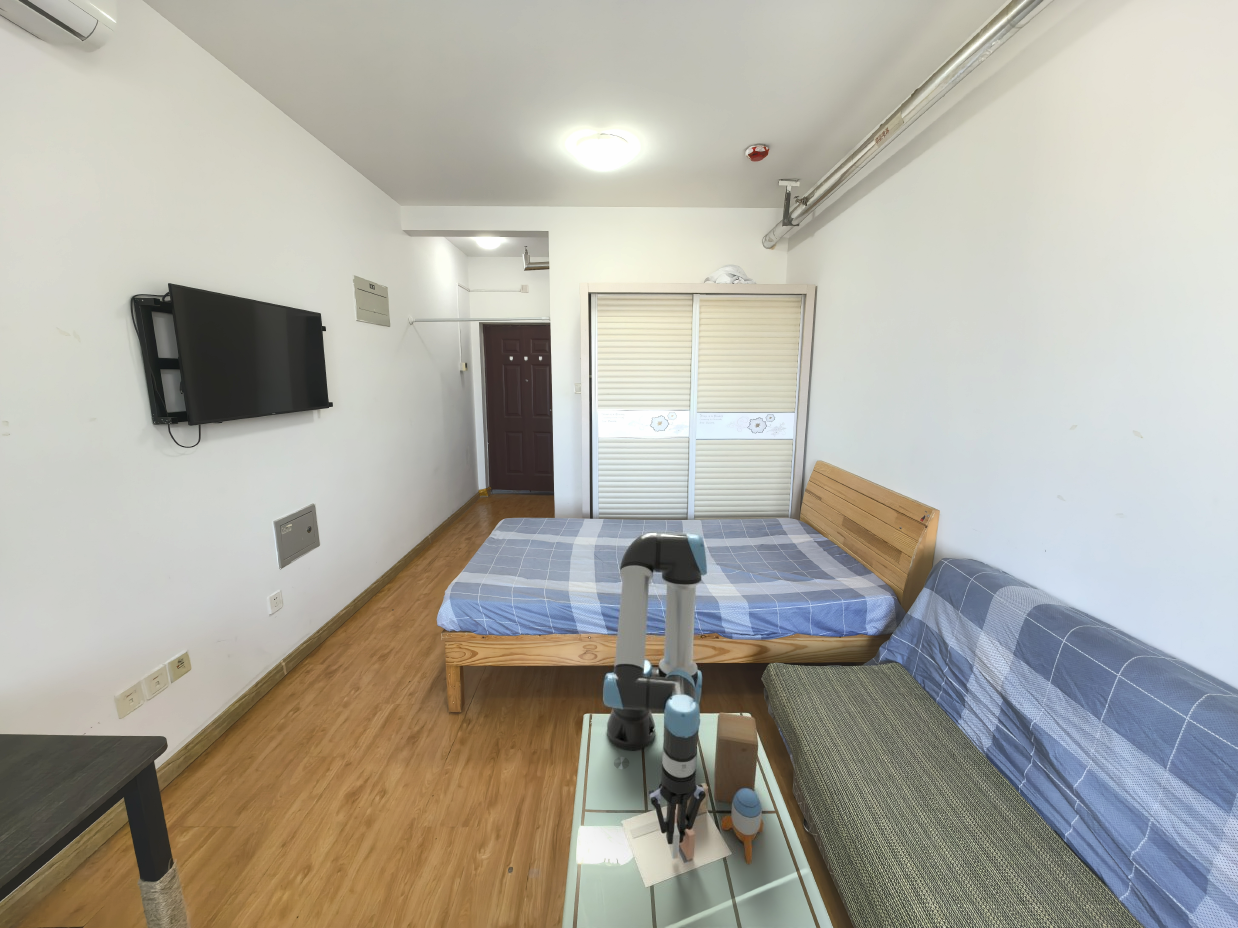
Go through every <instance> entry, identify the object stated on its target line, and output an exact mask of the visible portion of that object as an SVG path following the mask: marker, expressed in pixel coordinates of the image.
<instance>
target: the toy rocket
mask: <svg viewBox="0 0 1238 928" xmlns="http://www.w3.org/2000/svg"><path fill="white" fill-rule="evenodd" d="M762 813H763V812H762V803H761V800H760V798H759V796H758V794H757V793H756V792H755V790H754V791H753V790H751V789H748V788H742V789H740V790H739V791H738V792H737V793H736V794H735V796H734V799H733V803H732V804H731V813H730V814H728V815H725V816H723V817H722V819H721V820H720V821H721V822H720V824H721V825H720V826H721V829H722V830H724V831H728V830H730V829H731V828H732V829H733V831H734V833H735V835H736V837H737V838H738V840H739V841H740V842H741V843H742V844H743V845H744V855H745V861H746V863H747V864H748V865H751V863H752V859H753V848H752V846H753V845H752V841H753V840H754V839H755V837H756V836H757V834H758V833H762V832H763V829H764V821H763V819H762V815H763V814H762Z"/></svg>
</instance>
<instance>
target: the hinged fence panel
mask: <svg viewBox="0 0 1238 928" xmlns="http://www.w3.org/2000/svg"><path fill="white" fill-rule="evenodd" d="M677 808H678V804H676V810H675V823H676V824H677ZM679 845H680V847H681V849H682V851H683V853H684V855H685V856H686V858H687V860H690V859H693V858H694V845H695V832H694V831H693V829H691V830H688V829H686V830H685V836H683V842H682V843H679Z"/></svg>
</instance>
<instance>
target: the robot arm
mask: <svg viewBox="0 0 1238 928" xmlns="http://www.w3.org/2000/svg"><path fill="white" fill-rule="evenodd" d="M624 552H625V553H624V554H623V556H622V559H621V562H620V566H619V567H620V568H619V576H620V577H621V579H622V584H621V592H620V593H621V594H620V604H619V613H618V616H619V617H618V623H617V624H618V626H617V635H616V637H617V638H616V646H615V657H614V667H613V672H607V673H606V674H605V676H604V680H603V689H602V692H603V693H602V700H603V703H604V706H605V707H608V708H612V709H611V712H610V715H609V717H608V719H607V723H606V733H607V737H608V739H609V741H610V742H611V743H612V744H613V745H614V746H616V747H618V748H620V749H622V750H624V751H625V750H626V751H638V750H643V749H644V748H646V747H648V746H649V745H651V743H652V742H653V740H654V739H655V736H656V723H655V720H654V717H653V714H652V712H654V713H655V712H656V713H663V743H662V756H661V757H662V759H661V777H660V779H661V780H660V783H659V785H658V789H656V790H655V791H654V790H653V789H651V790H650V789H649V791H648V795H649V799H650V803H651V804H652V806H653V807H654V808H655V810H656V812H657V817H658V821H659V825H660V829H661V832H662V833H663V834H664V833H666V838H667V842H668V845H669V844H670V851H671V855H672V859H676V858H678V854H679V843H682V842H683V836H685V830H686V829H688V830H691V829H692V827H693V824H694V821H695V819H696V816H697V813H698V810H699V807H700V804H701V802H702V801H703V799H704V798H705V797H706V794H705V791H704V789H703V786H702V785H701V784H702V783H700V784H696V778H697V777H696V776H697V758H698V743H699V742H698V741H699V729H700V725H701V715H700V714H701V713H700V712H701V711H700V710H701V709H700V701H701V696H702V685H703V676H702V675H703V674H702V672H701V670H699V669H698V665H697V663H696V662H695V661H694V660H693V659H694V639H695V638H694V637H695V633H694V632H695V613H696V608H695V607H696V590H697V587H696V586H697V585H699V584H700V583H701V582H702V576H706V575H707V573H708V570H707V569H708V566H707V555H706V546H705V540H704V538H703V537H702V536H701V535H700V534H691V533H688V532H687V533H685V532H683V533H681V532H657V531H649V532H646V533H643V534H641V535H639V536H638V537H637V538H635V540H633V541H632V543H631V544H630V545H629V546H628V547H627V549H626V551H624ZM654 573H661V579H662V580H663V582H664V583H665V584H666V593H665V594H666V596H665V620H664V621H665V626H664V650H663V651H664V654H663V658H661V659H660V661H659V663H658V666H652V664H651V662H650V661H649V660H648V659H646V645H647V630H648V629H647V628H648V627H647V626H648V624H647V623H648V610H649V609H648V606H649V588H650V581H652V580H653V577H654ZM697 785H698V786H697ZM661 796H662V797H663V799H664V800H665V801H666V802H667V803H666V806H667V818H666V822H665V821H664V818H663V814H662V810H661V808H662V806H661V801H662V800H661V799H662V797H661ZM690 797H691V799H690ZM689 799H690V802H689V805H688V808H687V801H688V800H689ZM676 804H678V808H677V824H676V823H675V810H676ZM686 809H687V811H686Z"/></svg>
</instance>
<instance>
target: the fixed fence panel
mask: <svg viewBox="0 0 1238 928" xmlns="http://www.w3.org/2000/svg"><path fill="white" fill-rule="evenodd" d="M700 784H701V785H702V786H703V789H704V791H705V794H706V797H705V798H704V799H703V801H702V802H701V804H700V807H699V810H698V813H697V815H698V814H701V813H704V812H707V811H708V797H709V787H708V785H707V783H706V782H703V783H700ZM696 785H697V786H698V785H699V784H696ZM690 799H691V797H690ZM690 799H689V800H688V801H687V808H688V805H689V802H690ZM686 811H687V809H686Z"/></svg>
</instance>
